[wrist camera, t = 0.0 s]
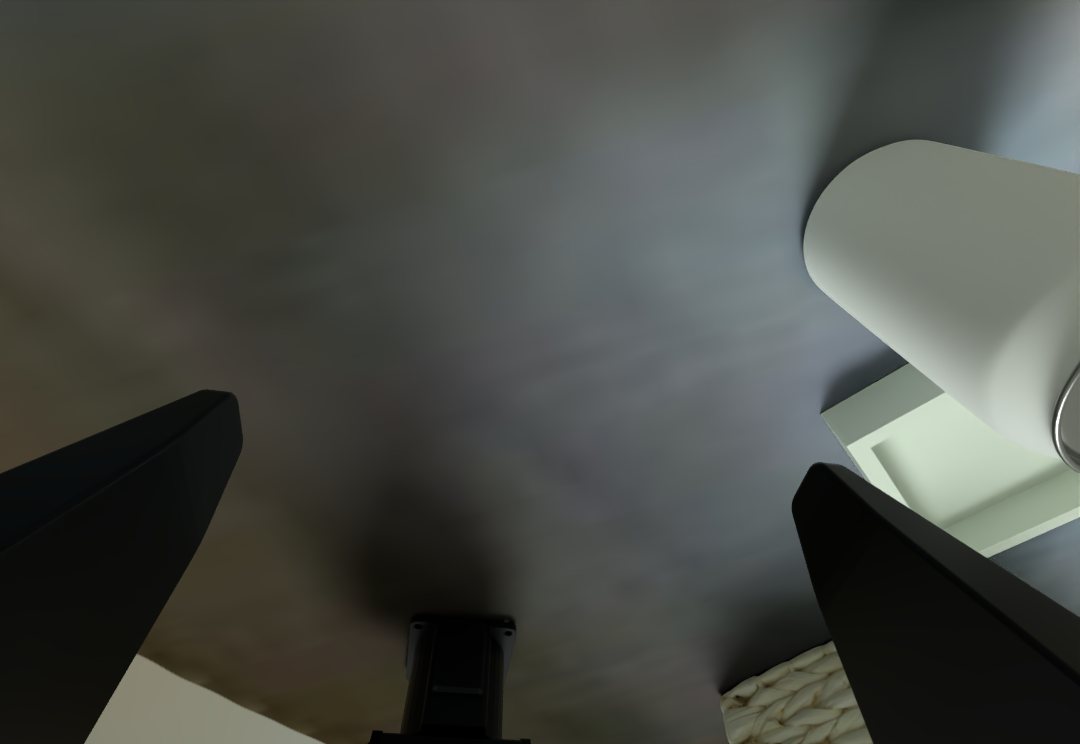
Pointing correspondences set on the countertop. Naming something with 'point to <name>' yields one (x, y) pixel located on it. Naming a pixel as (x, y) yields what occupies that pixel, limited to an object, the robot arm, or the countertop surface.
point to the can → (964, 279)
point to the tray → (952, 464)
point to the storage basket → (796, 704)
